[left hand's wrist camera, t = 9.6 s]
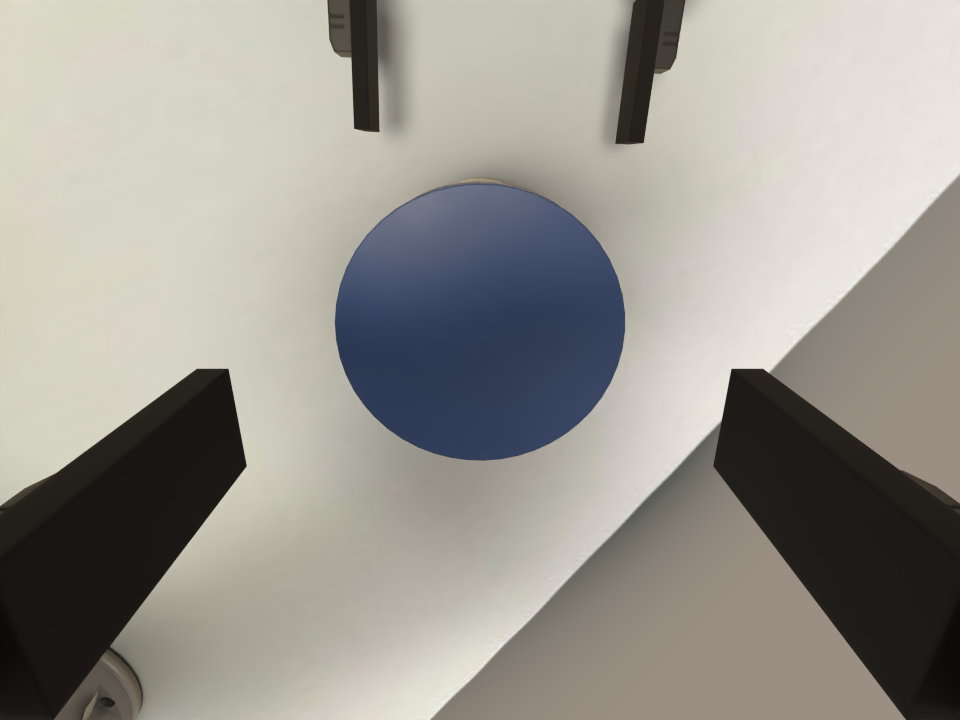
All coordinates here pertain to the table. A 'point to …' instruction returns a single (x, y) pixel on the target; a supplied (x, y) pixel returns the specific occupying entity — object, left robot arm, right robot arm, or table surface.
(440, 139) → the table surface
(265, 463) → the table surface
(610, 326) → the lid
